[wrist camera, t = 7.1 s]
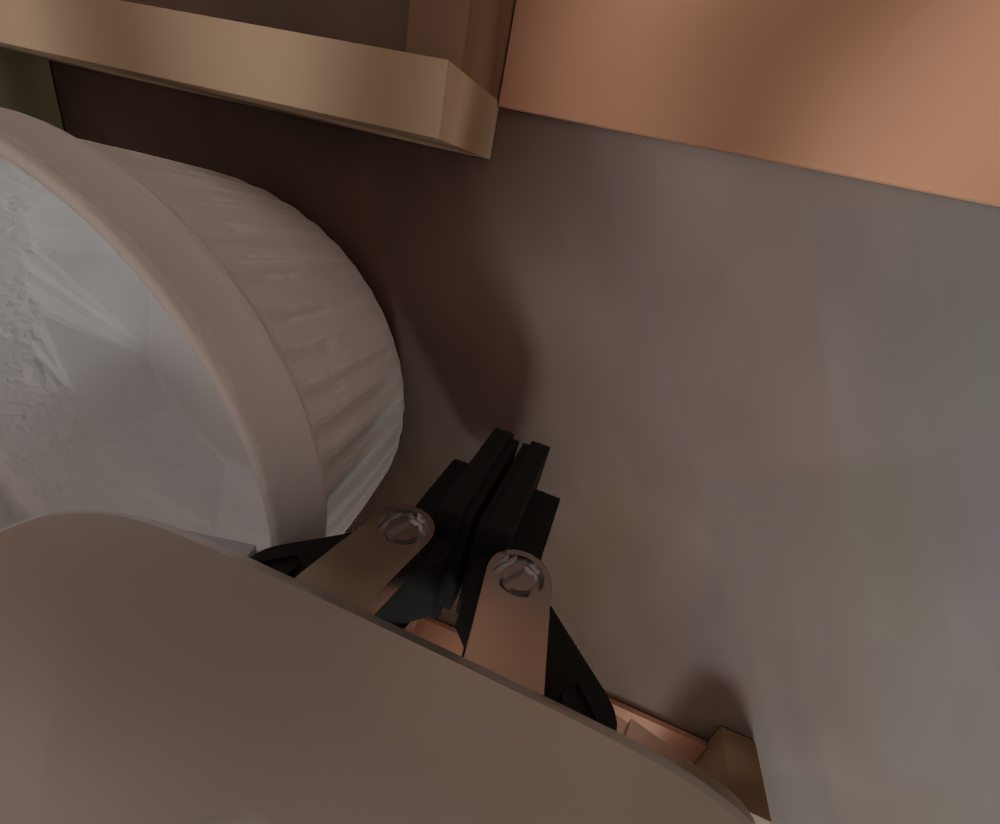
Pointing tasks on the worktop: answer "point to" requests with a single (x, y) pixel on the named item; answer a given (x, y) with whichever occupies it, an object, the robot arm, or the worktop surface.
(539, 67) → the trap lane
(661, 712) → the worktop surface
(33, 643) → the robot arm
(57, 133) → the ramekin
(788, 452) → the worktop surface
